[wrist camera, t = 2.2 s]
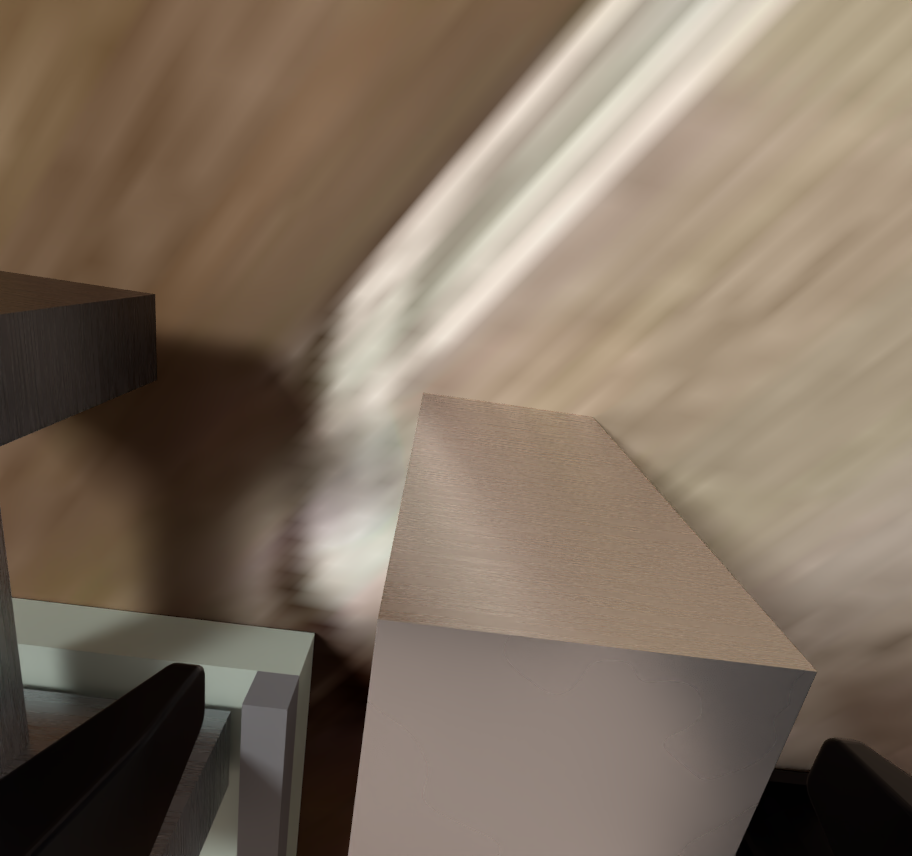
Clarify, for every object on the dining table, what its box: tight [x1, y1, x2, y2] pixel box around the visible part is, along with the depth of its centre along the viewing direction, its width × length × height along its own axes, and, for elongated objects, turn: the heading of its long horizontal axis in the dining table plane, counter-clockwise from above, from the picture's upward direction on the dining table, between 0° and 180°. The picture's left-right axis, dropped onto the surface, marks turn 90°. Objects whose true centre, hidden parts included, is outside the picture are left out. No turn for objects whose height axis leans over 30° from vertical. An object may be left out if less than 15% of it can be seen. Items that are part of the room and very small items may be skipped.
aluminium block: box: [348, 393, 817, 856], centre depth 9 cm, size 4×6×8 cm, turn 171°
